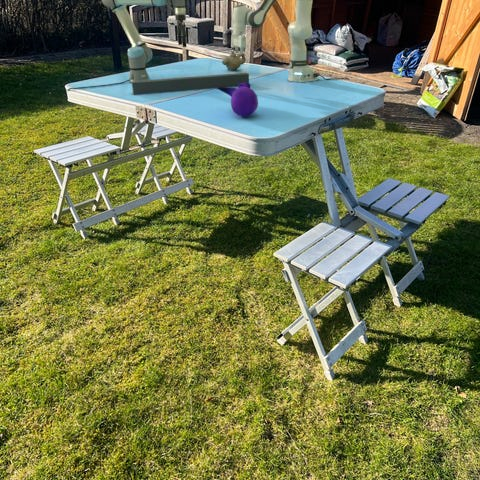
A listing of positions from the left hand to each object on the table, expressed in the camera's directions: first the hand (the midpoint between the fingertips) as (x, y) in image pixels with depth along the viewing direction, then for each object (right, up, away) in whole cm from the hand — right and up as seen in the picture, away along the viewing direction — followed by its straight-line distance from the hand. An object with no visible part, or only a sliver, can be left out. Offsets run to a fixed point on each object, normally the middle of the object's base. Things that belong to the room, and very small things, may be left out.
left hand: (182, 46), depth 335 cm
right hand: (+42, -16, -24) cm, 52 cm away
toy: (+43, -74, -82) cm, 118 cm away
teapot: (+38, -5, +36) cm, 53 cm away
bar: (+10, -40, -22) cm, 47 cm away
